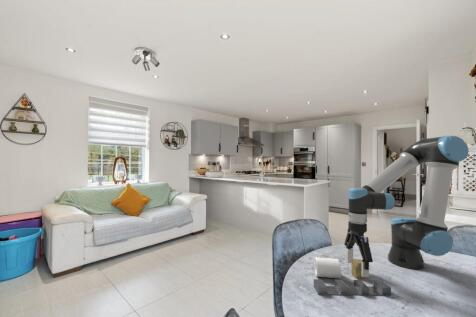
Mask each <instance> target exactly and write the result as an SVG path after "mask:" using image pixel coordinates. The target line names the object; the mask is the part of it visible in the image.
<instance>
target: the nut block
mask: <svg viewBox="0 0 476 317" xmlns="http://www.w3.org/2000/svg"><path fill="white" fill-rule="evenodd" d="M362 260H363V259H362V258H361V259H360V258H353V259H351V263H350V264H351V275H352V276H353V277H354V278H355V280H365V279H366V277H362Z"/></svg>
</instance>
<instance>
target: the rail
mask: <svg viewBox="0 0 476 317" xmlns="http://www.w3.org/2000/svg"><path fill="white" fill-rule="evenodd" d="M333 279H334V282H333V283H334V284H333V285H327V284H326V283H325V282H324V280H323V279H321V278H320V279H319V278H316V279H315V278H313V288H314V289H315V292H316V293H317V295H318V296H380V297H381V296H383V297H384V296H386V297H387V296H389V297H390V296H392V287H391V286H390V285H388V284H387V282H384V280H382V279H372V285H371V286H368V285H367V284H366V283H364V281H363V280H362V279H353V286H351V285H347V284H346V283H345V282H344V281H343V280H342V279H338V278H333Z"/></svg>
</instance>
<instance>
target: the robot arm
mask: <svg viewBox="0 0 476 317" xmlns="http://www.w3.org/2000/svg"><path fill="white" fill-rule="evenodd" d="M468 155H469V147H468V144H467V142H465V140H464V139H463V138H461V137H460V136H457V135H443V136H437V137H428V138H423V139H420V140H418V141H416V142H414V143H413V144H411V145H410V146H409V147H407V148H406V149H404V150H403V151H402V152H401V153H400V154H399V157H398V158H397V159H395V160H394V161H392V162H391V164H389V165H388V166H387V167H386V168H384V169H383V170H382V171H380V172H379V173H378V174H377V175H376V176H374V177H373V178H372V179H371V180H370V181H369V182H367V183H366V184H365V185H363V186H362V187H351V188H349V189H348V197H347V199H348V214H347V217H348V222H347V223H348V226H347V234H346V236H345V241H344V246H345V249H346V263H347V264H351V259H354V246H355V244H356V246H358V249H359V250H358V251H359V252H360V255H361V260H362V277H365V278H369V277H370V263H373V262H374V261H373V256H372V251H371V247H370V242H369V237H368V236H365V235H364V234H366V233H367V232H368V225H367V223H368V210H380V211H381V210H383V211H386V210H387V211H388V210H393V209H394V207H395V204H396V203H395V202H396V200H395V197H394V196H393V194H391V193H387V192H384V191H386V189H388V188H389V187H390V186H392V184H394V183H395V182H396V181H398V179H400V178H402V176H404V175H405V174H406V173H408V172H409V171H410V170H411V169H413V168H417V167H419V165H421V164H423V163H424V164H425V165H426V166H427V167H428V168H427V173H426V178H425V185H424V191H423V196H422V202H421V209H420V212H419V213H420V214H419V217H417V218H414V217H404V216H403V217H400V216H398V217H397V216H396V217H393V218H391V223H390V226H391V227H390V228H391V230H390V231H391V247H390V248H389V252H388V253H387V260H388V262H390V263H392V264H393V265H395V266H398V267H402V268H406V269H409V270H410V269H412V270H421V269H424V268H425V261H424V258H423V255H422V253H423V252H424V253H425V254H428V255H431V256H435V257H441V256H445V255H446V254H448V253H449V252H450V251H451V250H452V248H453V246H454V239H453V238H452V235H451V234H450V233H449V232H448V229H449V226H448V225H447V224H446V223H445V219H446V212H447V208H448V201H449V195H450V189H451V183H452V177H453V173H454V172H453V171H454V170H455V169H458V168H459V164H460V162H462V161H464V160H465V159H467V158H468ZM421 251H422V253H421Z"/></svg>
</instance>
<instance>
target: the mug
mask: <svg viewBox="0 0 476 317" xmlns="http://www.w3.org/2000/svg"><path fill="white" fill-rule="evenodd" d="M340 262H341V261H340V259H339V258H331V257H329V258H328V257H319V256H318V257H316V256H315V258H314V273H315V276H316V277H321V278H327V279H328V278H330V279H338V280H341V277H342V268H341V263H340Z"/></svg>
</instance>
